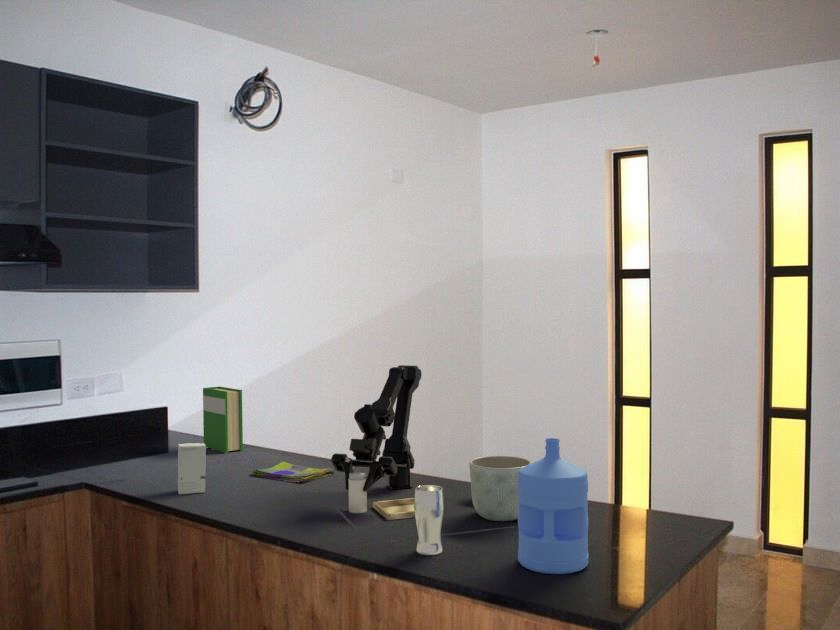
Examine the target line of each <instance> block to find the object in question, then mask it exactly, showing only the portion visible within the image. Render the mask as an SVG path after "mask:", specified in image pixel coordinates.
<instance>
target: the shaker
mask: <svg viewBox="0 0 840 630" xmlns="http://www.w3.org/2000/svg"><path fill="white" fill-rule="evenodd" d="M366 475H367V474H366V472H365V471H354V472H351V473H349V479H348V481H349V489H348V512H349V513H352V514H364V513H366V512H367V511H368V510H367V509H368V504H367V503H368V502H367V500H368V498H367V497H368V494H367V491H368V490H367V491H366V492H364V490H363V488H364V484H365V482H366V479H367V476H366Z"/></svg>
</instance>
